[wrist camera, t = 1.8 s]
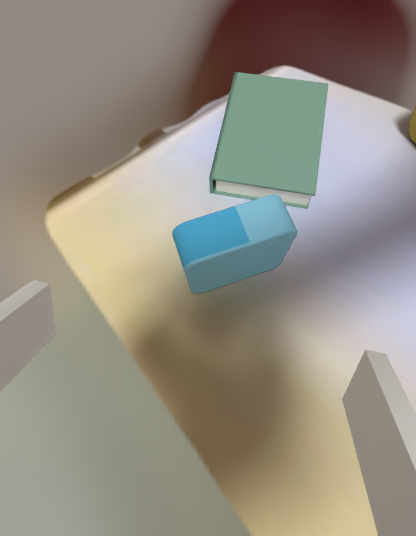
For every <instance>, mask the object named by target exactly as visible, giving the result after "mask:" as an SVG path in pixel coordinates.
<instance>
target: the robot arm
mask: <svg viewBox="0 0 416 536" xmlns="http://www.w3.org/2000/svg"><path fill="white" fill-rule="evenodd" d="M55 334H56V332H55V323H54V315H53V307H52V298H51V291H50V284H49V283H44V282H39V281H35V280H33V281H31V282H30V283H28V284H27V285H26V286H24V287H23V288H21V289H20V290H18V291H17V292H15V293H14V294H13V295H11V296H10V297H8V298H7V299H5V300H4V301H3V302H1V303H0V391H1V390H2V389H3V388H4V387H5V386H6V385H7V384H8V383H9V382H10V381H11V380H12V379H13V378H14V377H15V376H16V375H17V374H18V373H19V372H20V371H21V370H22V369H23V368H24V367H25V366H26V365H27V364H28V363H29V362H30V360H31V359H32V358H33V357H34V356H35V355H36V354H37V353H38V352H39V351H40V350H41V349H42V348H43V347H44V346H45V345H46V344H47V343H48V342H49V341H50V340H51V339H52V338H53V337H54V336H55ZM342 400H343V404H344V408H345V412H346V415H347V419H348V423H349V427H350V430H351V434H352V438H353V442H354V446H355V449H356V453H357V457H358V461H359V465H360V468H361V472H362V476H363V480H364V483H365V487H366V491H367V495H368V499H369V502H370V506H371V510H372V514H373V517H374V521H375V525H376V529H377V533H378V536H416V414H415V412H414V410H413V408H412V406H411V404H410V402H409V400H408V398H407V396H406V394H405V392H404V390H403V388H402V386H401V384H400V382H399V380H398V378H397V376H396V374H395V372H394V370H393V368H392V366H391V364H390V362H389V360H388V358H387V356H386V354H383V353H378V352H373V351H369V350H365V351H364V354H363V356H362V358H361V360H360V362H359V364H358V366H357V369H356V371H355V373H354V375H353V377H352V379H351V381H350V383H349V386H348V388H347V390H346V392H345V394H344V396H343V398H342Z"/></svg>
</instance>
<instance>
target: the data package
mask: <svg viewBox="0 0 416 536" xmlns="http://www.w3.org/2000/svg"><path fill="white" fill-rule="evenodd" d="M172 235H173V238H174V241H175V244H176V247H177V250H178V253H179V256H180V259H181V262H182V265H183V268H184V271H185V274H186V277H187V280H188V282H189V285H190V288H191V291H192V293H194V294H199V293H204V292H207V291H210V290H213V289H216V288H219V287H222V286H225V285H228V284H231V283H233V282H236V281H239V280H242V279H245V278H248V277H251V276H254V275H257V274H260V273H263V272H266V271H269V270H271V269H273V268H275V267H277V266H278V265H280V264H281V262H282V260H283V258H284V257H285V255H286V253H287V251H288V249H289V248H290V246H291V244H292V242H293V240H294V239H295V237H296V235H297V229H296V227H295V225H294V223H293V221H292V219H291V217H290V215H289V213H288V211H287V208H286V206H285V204H284V202H283V200H282V198H281V196H279V195H276V194H272V195H268V196H265V197H261V198H258V199H255V200H252V201H249V202H246V203H243V204H240V205H237V206H233V207H230V208H227V209H224V210H221V211H218V212H215V213H212V214H209V215H205V216H202V217H199V218H196V219H193V220H190V221H187V222H184V223H182V224H180V225H178V226H177V227H176V228H175V229H174V230H173V233H172Z"/></svg>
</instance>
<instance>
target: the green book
mask: <svg viewBox="0 0 416 536" xmlns="http://www.w3.org/2000/svg"><path fill="white" fill-rule="evenodd" d="M327 91H328V83H320V82H312V81H304V80H295V79H287V78H279V77H271V76H263V75H254V74H246V73H238V72H235V73H234V77H233V82H232V86H231V90H230V94H229V98H228V102H227V106H226V111H225V115H224V119H223V123H222V127H221V131H220V135H219V140H218V144H217V148H216V152H215V156H214V160H213V165H212V169H211V173H210V177H209V180H210V193H214V194H220V195H227V196H233V197H239V198H245V199H251V200H255V199H258V198H261V197H265V196H268V195H272V194H276V195H279V196H281V198H282V200H283V202H284V204H285V205H288V206H294V207H300V208H307V209H308V203H309V200H310V198H311V196H315V193H316V184H317V176H318V167H319V159H320V150H321V142H322V133H323V125H324V116H325V108H326V99H327Z"/></svg>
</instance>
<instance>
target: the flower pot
mask: <svg viewBox="0 0 416 536" xmlns="http://www.w3.org/2000/svg"><path fill="white" fill-rule="evenodd" d="M409 132H410V138H411V139H412V140H413V141H414V143H415V144H416V107H415V109H414V111H413V113H412V116H411V119H410V125H409Z"/></svg>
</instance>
